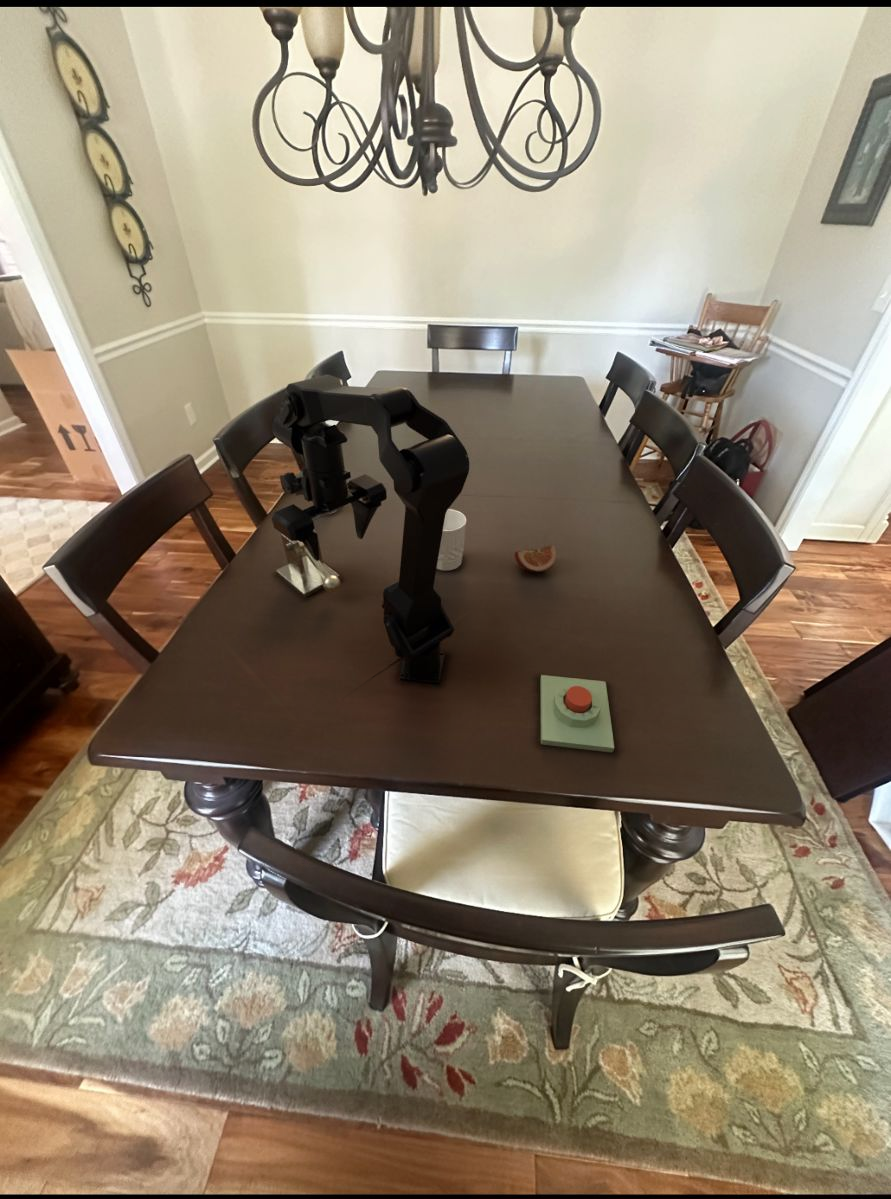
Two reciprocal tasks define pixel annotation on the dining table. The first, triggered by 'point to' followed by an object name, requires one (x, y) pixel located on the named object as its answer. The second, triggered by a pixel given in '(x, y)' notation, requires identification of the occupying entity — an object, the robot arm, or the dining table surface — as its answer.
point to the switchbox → (575, 715)
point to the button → (578, 699)
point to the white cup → (452, 541)
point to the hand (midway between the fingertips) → (338, 548)
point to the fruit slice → (536, 558)
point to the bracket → (301, 569)
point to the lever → (323, 572)
